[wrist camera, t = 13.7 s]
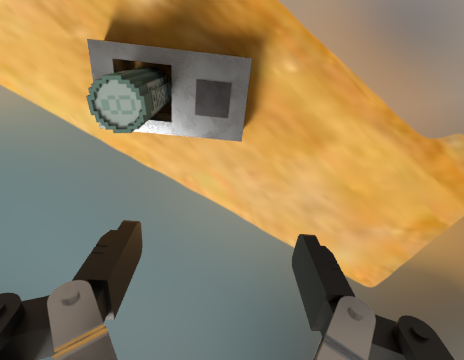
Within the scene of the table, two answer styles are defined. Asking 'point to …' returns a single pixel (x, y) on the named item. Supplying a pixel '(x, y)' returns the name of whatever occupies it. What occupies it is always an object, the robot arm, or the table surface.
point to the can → (128, 98)
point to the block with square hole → (186, 87)
